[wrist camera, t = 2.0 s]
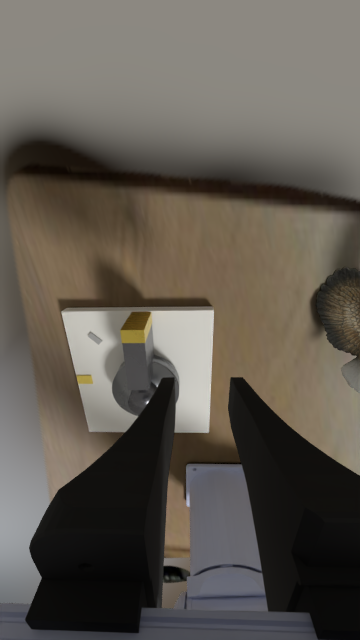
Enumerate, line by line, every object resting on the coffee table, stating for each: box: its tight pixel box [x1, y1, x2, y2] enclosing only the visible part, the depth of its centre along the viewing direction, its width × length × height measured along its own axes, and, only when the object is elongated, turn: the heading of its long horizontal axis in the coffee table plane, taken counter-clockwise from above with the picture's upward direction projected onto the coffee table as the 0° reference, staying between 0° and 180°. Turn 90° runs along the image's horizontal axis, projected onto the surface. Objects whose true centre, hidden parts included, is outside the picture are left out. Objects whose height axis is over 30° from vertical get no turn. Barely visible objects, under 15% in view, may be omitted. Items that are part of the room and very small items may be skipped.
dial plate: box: [61, 306, 214, 433], centre depth 22 cm, size 13×14×1 cm
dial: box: [112, 312, 180, 416], centre depth 19 cm, size 10×6×4 cm, turn 1°
